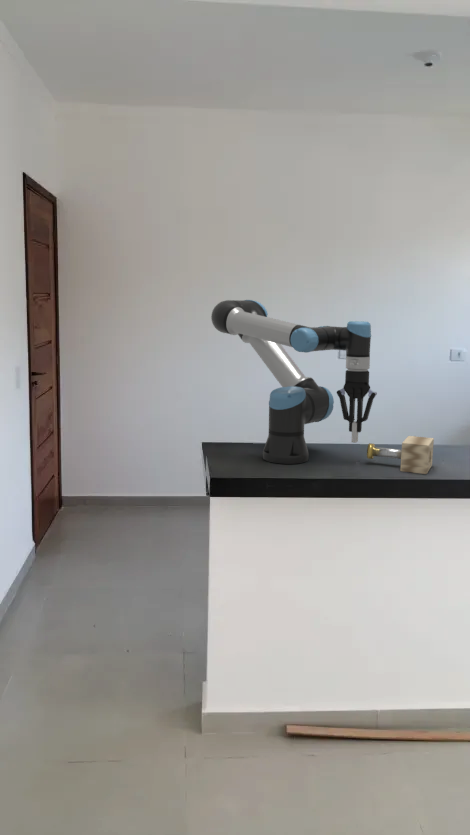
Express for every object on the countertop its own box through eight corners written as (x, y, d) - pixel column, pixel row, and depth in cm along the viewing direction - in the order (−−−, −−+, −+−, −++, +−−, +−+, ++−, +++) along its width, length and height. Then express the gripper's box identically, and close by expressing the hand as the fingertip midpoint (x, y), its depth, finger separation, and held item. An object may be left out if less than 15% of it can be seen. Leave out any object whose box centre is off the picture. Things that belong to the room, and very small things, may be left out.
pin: (366, 460, 224) (367, 444, 223) (369, 456, 229) (370, 441, 228) (409, 464, 219) (410, 449, 218) (411, 461, 223) (412, 446, 223)
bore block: (400, 471, 217) (402, 442, 215) (406, 462, 228) (408, 435, 226) (426, 474, 214) (428, 445, 212) (432, 465, 225) (433, 438, 223)
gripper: (334, 369, 222) (332, 442, 226) (375, 371, 217) (372, 445, 221) (340, 367, 229) (338, 437, 233) (380, 369, 224) (377, 441, 228)
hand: (354, 441), depth 227 cm, fingers closed
